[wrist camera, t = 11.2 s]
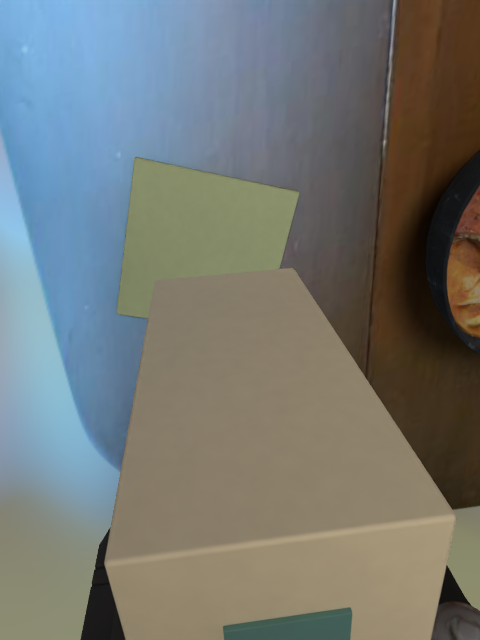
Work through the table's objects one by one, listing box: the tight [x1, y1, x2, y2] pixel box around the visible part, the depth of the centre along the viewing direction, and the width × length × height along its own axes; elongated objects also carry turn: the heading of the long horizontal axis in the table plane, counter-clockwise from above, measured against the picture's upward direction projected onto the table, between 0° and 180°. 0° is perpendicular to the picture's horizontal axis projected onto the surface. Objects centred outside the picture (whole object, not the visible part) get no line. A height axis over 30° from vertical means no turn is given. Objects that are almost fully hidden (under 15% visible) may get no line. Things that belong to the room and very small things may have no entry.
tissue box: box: [104, 268, 456, 640], centre depth 13 cm, size 5×9×11 cm, turn 3°
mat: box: [117, 157, 299, 319], centre depth 35 cm, size 12×12×1 cm
